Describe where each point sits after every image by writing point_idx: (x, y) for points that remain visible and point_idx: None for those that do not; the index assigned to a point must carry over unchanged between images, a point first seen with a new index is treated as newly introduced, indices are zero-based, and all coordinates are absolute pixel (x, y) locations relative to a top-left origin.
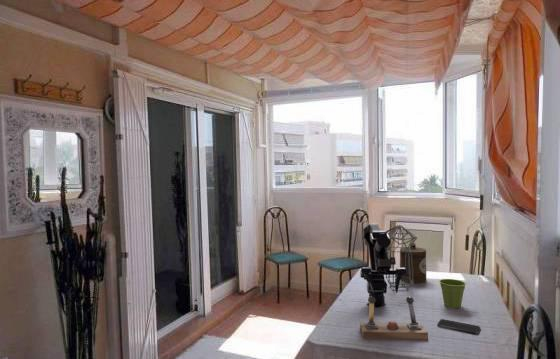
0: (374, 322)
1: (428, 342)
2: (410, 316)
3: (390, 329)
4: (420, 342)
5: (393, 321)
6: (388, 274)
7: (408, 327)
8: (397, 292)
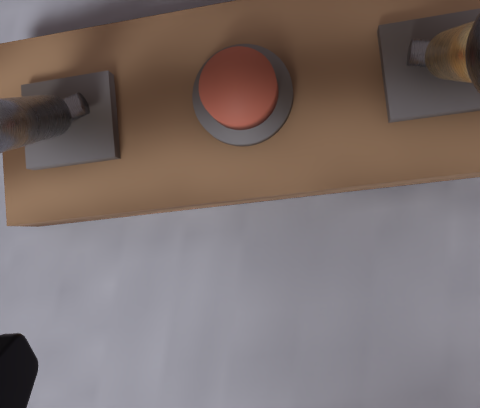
0: (417, 48)
1: (36, 13)
2: (46, 116)
3: (268, 48)
4: (85, 2)
5: (224, 121)
6: None
7: (115, 113)
8: (6, 335)
